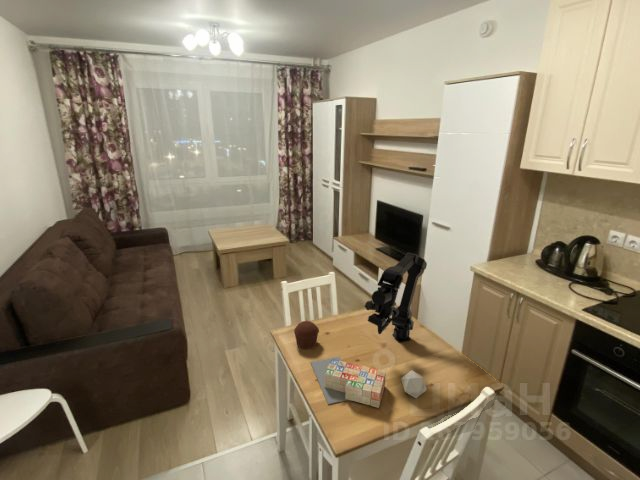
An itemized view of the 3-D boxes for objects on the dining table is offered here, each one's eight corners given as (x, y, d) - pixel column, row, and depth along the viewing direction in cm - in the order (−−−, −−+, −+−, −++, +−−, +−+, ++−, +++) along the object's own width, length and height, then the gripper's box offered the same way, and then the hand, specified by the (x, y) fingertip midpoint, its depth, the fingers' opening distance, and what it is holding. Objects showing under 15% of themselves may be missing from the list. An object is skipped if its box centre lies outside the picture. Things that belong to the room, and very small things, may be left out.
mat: (339, 357, 145) (339, 356, 145) (362, 397, 123) (362, 396, 123) (310, 362, 141) (310, 361, 141) (328, 404, 119) (328, 403, 119)
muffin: (294, 336, 160) (293, 317, 157) (317, 335, 161) (317, 316, 158) (294, 351, 149) (294, 331, 146) (319, 350, 150) (320, 330, 147)
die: (404, 403, 121) (423, 390, 117) (392, 380, 127) (410, 366, 122) (417, 400, 127) (435, 388, 122) (405, 378, 132) (423, 365, 127)
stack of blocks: (331, 371, 136) (321, 392, 125) (332, 358, 134) (321, 378, 123) (385, 385, 128) (378, 408, 117) (386, 371, 127) (380, 394, 116)
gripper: (380, 288, 151) (372, 319, 154) (360, 297, 136) (352, 332, 139) (403, 297, 145) (394, 330, 149) (385, 308, 130) (376, 344, 133)
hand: (379, 333), depth 143 cm, fingers closed
